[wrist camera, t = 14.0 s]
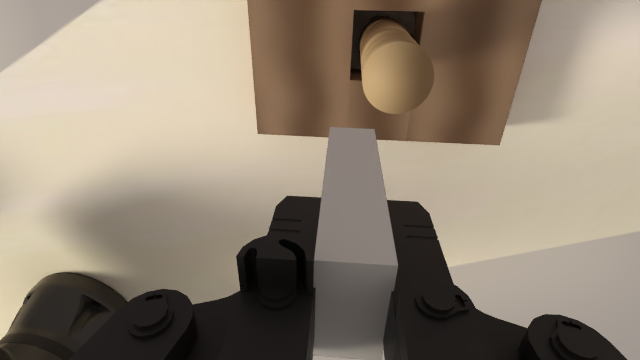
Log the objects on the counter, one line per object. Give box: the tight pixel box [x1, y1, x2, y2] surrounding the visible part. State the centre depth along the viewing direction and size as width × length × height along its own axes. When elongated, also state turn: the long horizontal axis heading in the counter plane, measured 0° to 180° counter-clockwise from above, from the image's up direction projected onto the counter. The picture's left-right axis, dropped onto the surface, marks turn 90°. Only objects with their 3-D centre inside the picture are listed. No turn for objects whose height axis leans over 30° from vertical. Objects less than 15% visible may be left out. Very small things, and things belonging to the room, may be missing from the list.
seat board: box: [247, 0, 542, 145], centre depth 31 cm, size 22×16×4 cm
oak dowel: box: [359, 16, 434, 114], centre depth 26 cm, size 4×4×14 cm
